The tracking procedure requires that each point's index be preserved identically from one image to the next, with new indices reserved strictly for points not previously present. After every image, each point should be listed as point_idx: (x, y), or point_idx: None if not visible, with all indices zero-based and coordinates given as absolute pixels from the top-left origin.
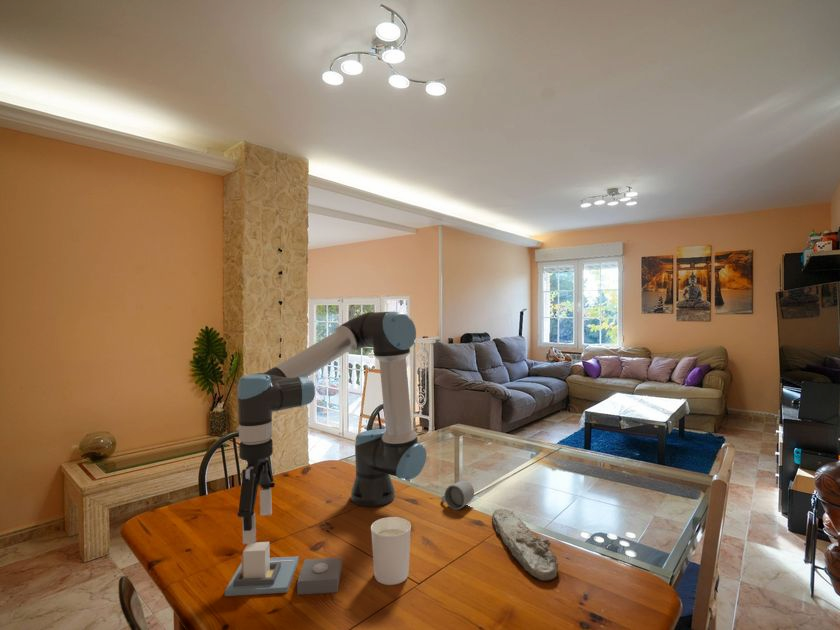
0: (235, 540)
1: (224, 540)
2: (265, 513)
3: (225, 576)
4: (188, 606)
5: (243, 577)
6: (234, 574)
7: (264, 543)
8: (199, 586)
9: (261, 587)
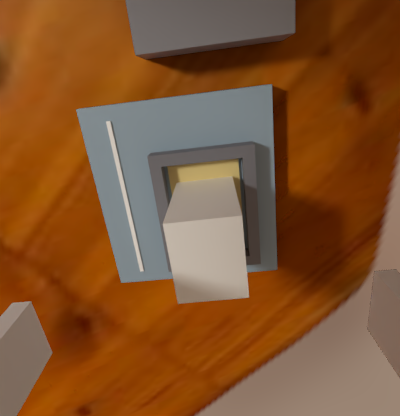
0: None
1: None
2: (37, 338)
3: None
4: (307, 321)
5: None
6: None
7: (179, 239)
8: (230, 331)
9: (267, 174)
